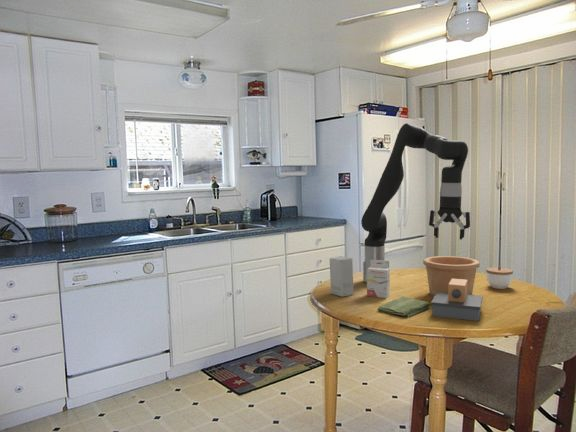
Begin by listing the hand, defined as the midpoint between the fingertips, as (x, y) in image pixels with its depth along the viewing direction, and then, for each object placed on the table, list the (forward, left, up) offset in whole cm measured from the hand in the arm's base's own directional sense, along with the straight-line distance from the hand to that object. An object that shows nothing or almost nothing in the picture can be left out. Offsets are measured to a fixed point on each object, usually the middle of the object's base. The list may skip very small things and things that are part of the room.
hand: (448, 238), depth 170 cm
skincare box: (-43, +2, -26) cm, 50 cm away
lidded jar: (+17, +39, -26) cm, 50 cm away
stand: (+4, -7, -26) cm, 27 cm away
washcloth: (-14, -10, -27) cm, 32 cm away
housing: (+4, -6, -21) cm, 22 cm away
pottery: (-1, +18, -26) cm, 32 cm away
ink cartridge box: (-28, +5, -26) cm, 39 cm away
